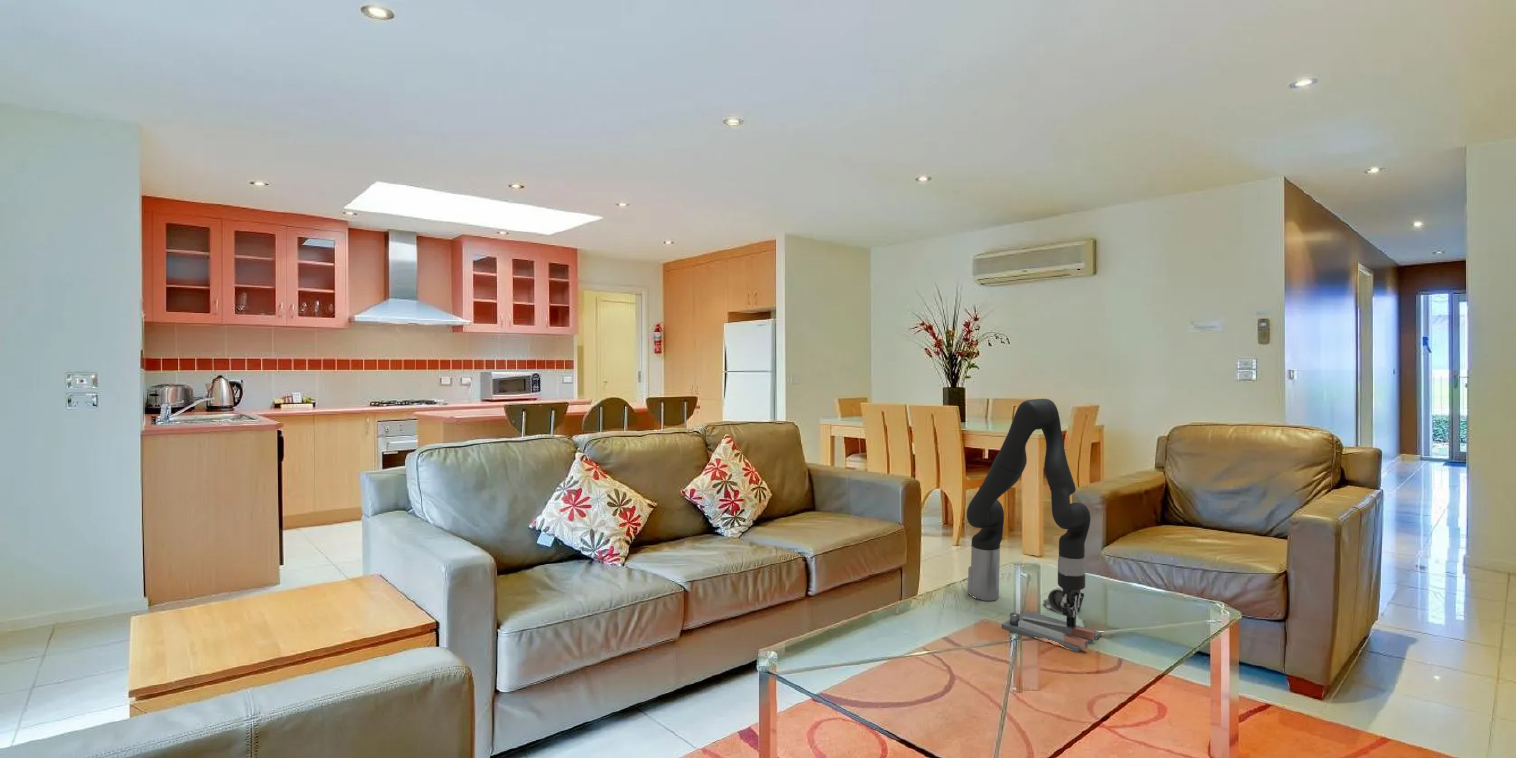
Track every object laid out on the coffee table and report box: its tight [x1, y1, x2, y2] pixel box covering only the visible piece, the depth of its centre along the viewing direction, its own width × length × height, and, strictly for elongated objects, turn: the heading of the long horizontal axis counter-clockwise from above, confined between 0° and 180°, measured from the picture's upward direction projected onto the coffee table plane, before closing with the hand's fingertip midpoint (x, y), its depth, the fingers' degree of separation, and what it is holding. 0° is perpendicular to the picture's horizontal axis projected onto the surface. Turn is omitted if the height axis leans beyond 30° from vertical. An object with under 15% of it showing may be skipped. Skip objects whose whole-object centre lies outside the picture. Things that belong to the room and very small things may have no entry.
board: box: [1001, 610, 1102, 653], centre depth 222 cm, size 23×16×1 cm
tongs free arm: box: [1022, 617, 1096, 640], centre depth 219 cm, size 20×2×2 cm, turn 57°
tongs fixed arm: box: [1009, 612, 1089, 650], centre depth 217 cm, size 24×3×3 cm, turn 43°
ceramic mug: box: [1043, 587, 1063, 614], centre depth 240 cm, size 11×8×8 cm
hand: (1071, 628), depth 219 cm, fingers closed
